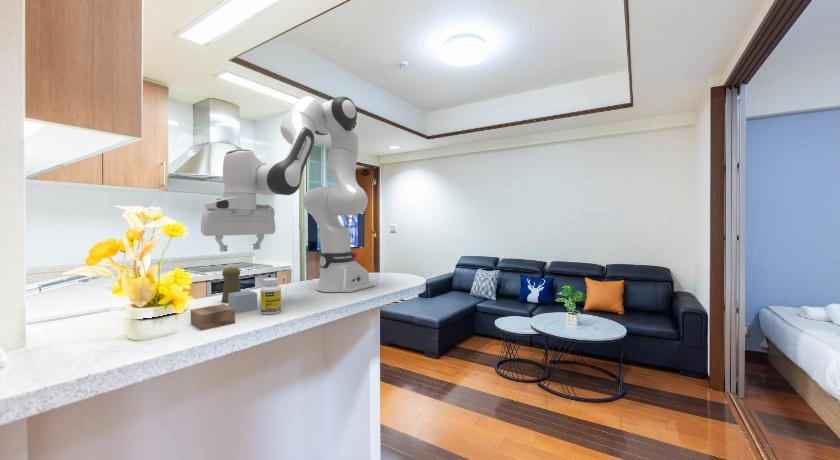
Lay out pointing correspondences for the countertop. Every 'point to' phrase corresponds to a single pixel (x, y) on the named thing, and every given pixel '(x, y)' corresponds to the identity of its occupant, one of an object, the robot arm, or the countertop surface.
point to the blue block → (242, 301)
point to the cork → (230, 282)
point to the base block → (212, 316)
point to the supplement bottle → (270, 296)
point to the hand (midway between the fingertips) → (240, 250)
